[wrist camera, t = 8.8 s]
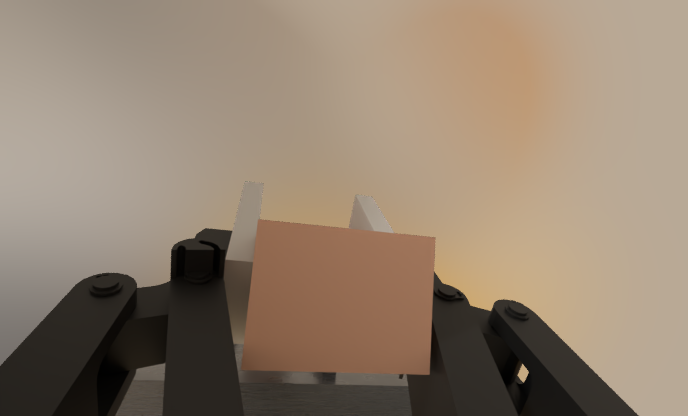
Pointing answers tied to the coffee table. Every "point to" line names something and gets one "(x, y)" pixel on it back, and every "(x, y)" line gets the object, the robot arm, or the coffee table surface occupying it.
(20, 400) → the robot arm
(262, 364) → the block
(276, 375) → the stand
